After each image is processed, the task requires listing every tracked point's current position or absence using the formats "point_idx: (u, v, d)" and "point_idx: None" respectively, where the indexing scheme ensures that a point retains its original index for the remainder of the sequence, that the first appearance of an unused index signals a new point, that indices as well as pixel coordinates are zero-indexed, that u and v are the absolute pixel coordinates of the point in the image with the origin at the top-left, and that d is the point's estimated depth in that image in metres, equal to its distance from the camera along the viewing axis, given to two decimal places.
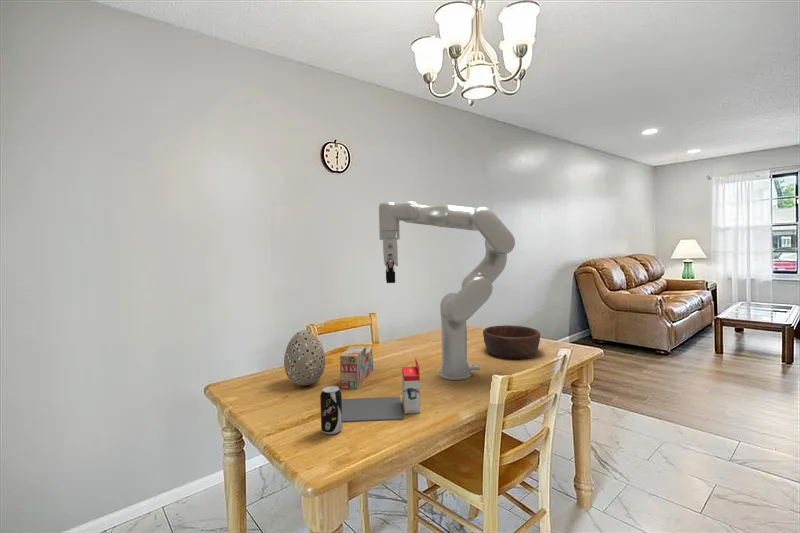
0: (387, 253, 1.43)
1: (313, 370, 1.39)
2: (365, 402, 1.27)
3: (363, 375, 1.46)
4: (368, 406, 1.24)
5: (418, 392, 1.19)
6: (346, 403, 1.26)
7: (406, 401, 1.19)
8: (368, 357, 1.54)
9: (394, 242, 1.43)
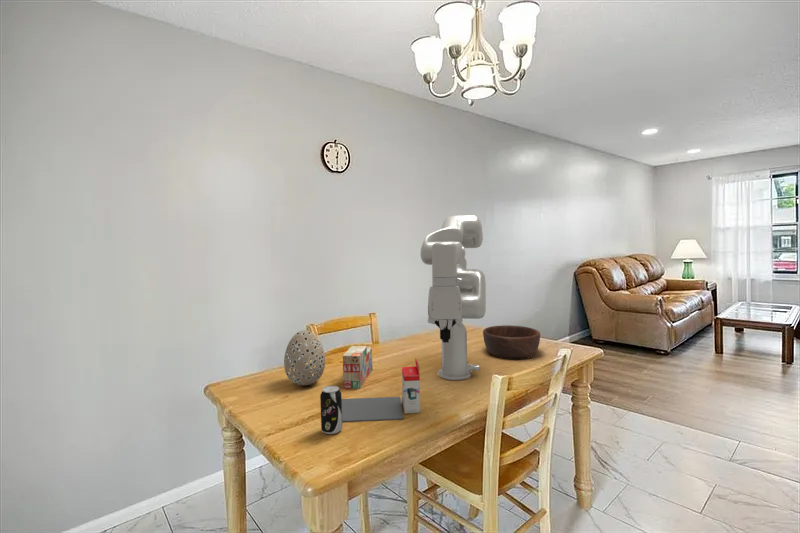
0: (461, 303, 1.21)
1: (313, 370, 1.39)
2: (365, 402, 1.27)
3: (365, 375, 1.47)
4: (368, 406, 1.24)
5: (418, 392, 1.19)
6: (346, 403, 1.26)
7: (406, 401, 1.19)
8: (368, 357, 1.54)
9: None
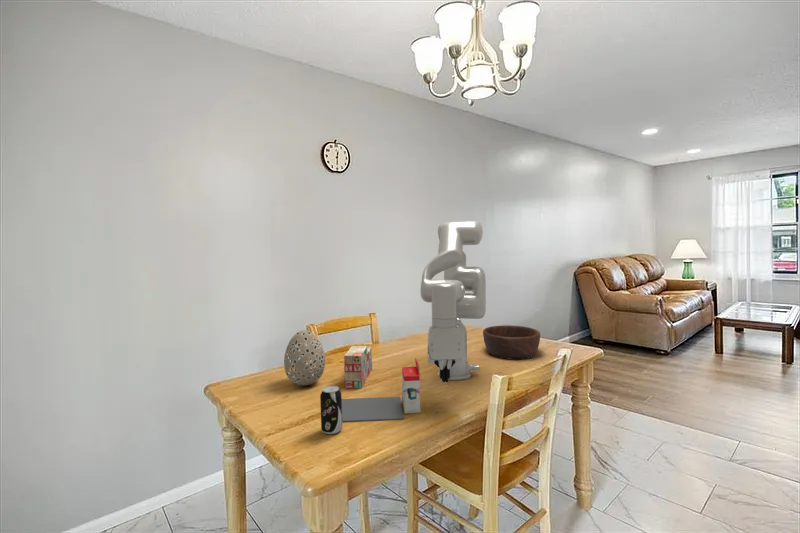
0: (460, 343, 1.22)
1: (313, 370, 1.39)
2: (365, 402, 1.27)
3: (365, 374, 1.47)
4: (368, 406, 1.24)
5: (418, 392, 1.19)
6: (346, 403, 1.26)
7: (406, 401, 1.19)
8: (368, 356, 1.54)
9: None
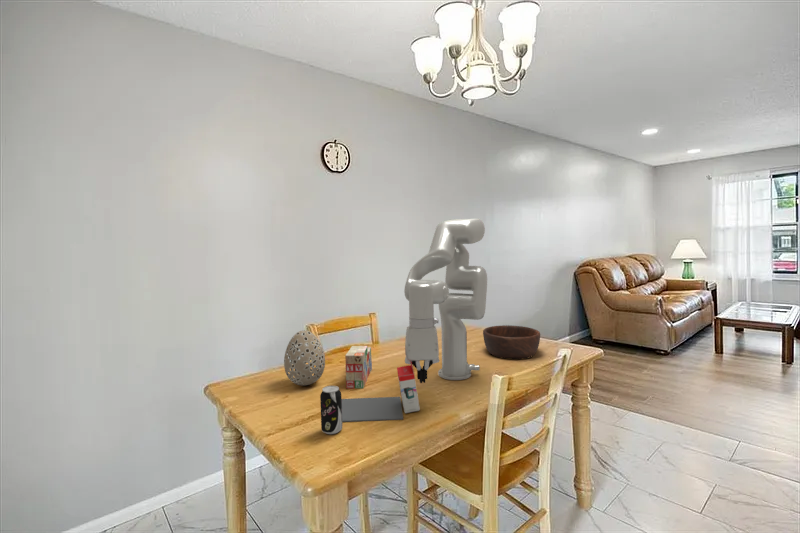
0: None
1: (313, 370, 1.39)
2: (365, 402, 1.27)
3: (366, 374, 1.47)
4: (368, 406, 1.24)
5: (415, 390, 1.19)
6: (346, 403, 1.26)
7: (404, 401, 1.19)
8: (369, 356, 1.55)
9: None
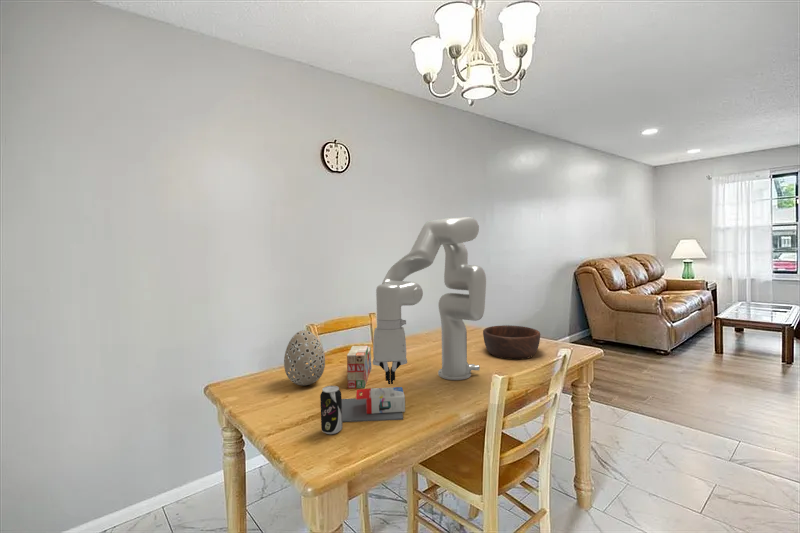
0: (405, 345, 1.21)
1: (313, 370, 1.39)
2: (365, 402, 1.27)
3: (367, 374, 1.47)
4: None
5: (383, 399, 1.18)
6: (346, 403, 1.26)
7: (392, 410, 1.19)
8: (369, 356, 1.55)
9: None
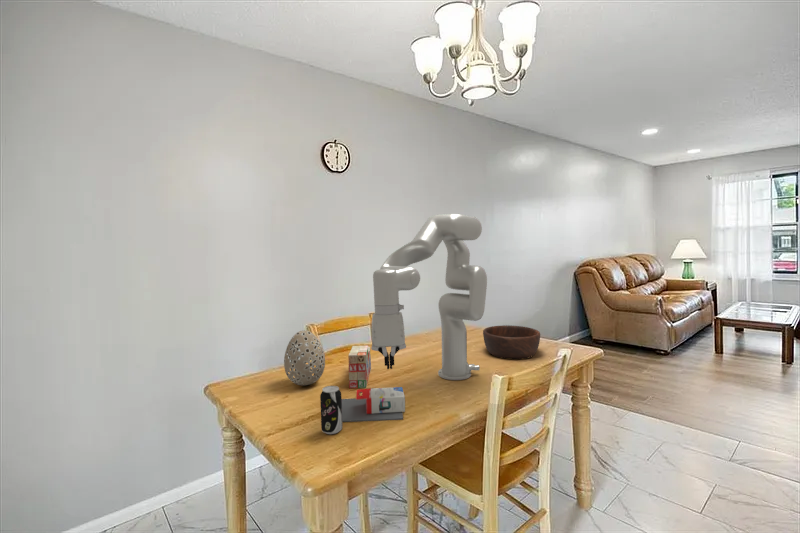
0: None
1: (313, 370, 1.39)
2: (365, 402, 1.27)
3: (368, 374, 1.48)
4: None
5: (383, 399, 1.18)
6: (346, 403, 1.26)
7: (392, 410, 1.19)
8: (369, 356, 1.55)
9: None
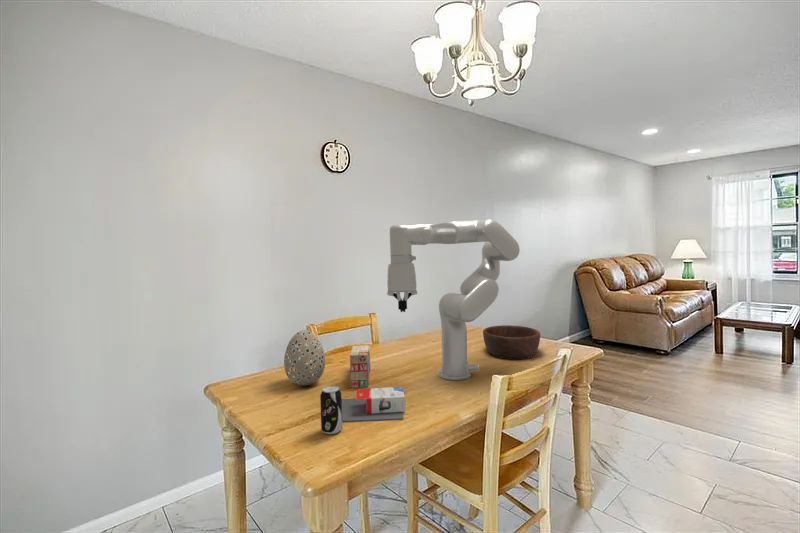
0: (415, 277, 1.39)
1: (313, 370, 1.39)
2: (365, 402, 1.27)
3: None
4: None
5: (383, 399, 1.18)
6: (346, 403, 1.26)
7: (392, 410, 1.19)
8: (369, 356, 1.55)
9: None
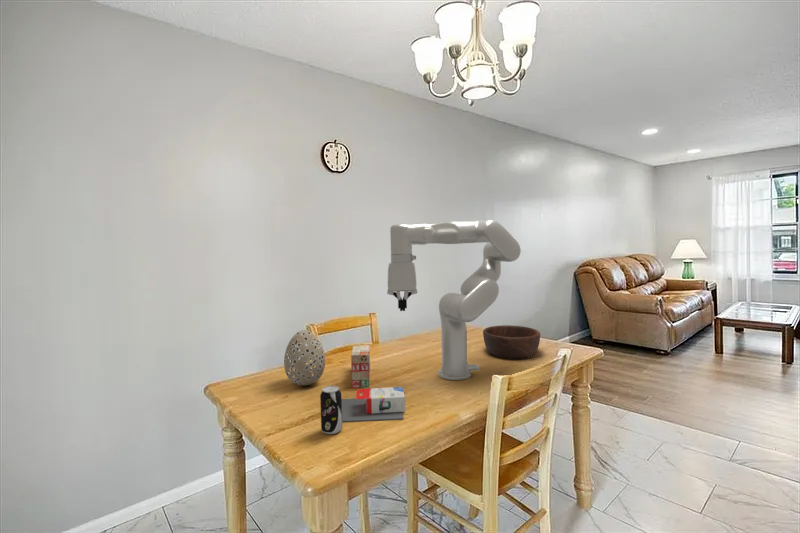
0: None
1: (313, 370, 1.39)
2: (365, 402, 1.27)
3: None
4: None
5: (383, 399, 1.18)
6: (346, 403, 1.26)
7: (392, 410, 1.19)
8: None
9: None
